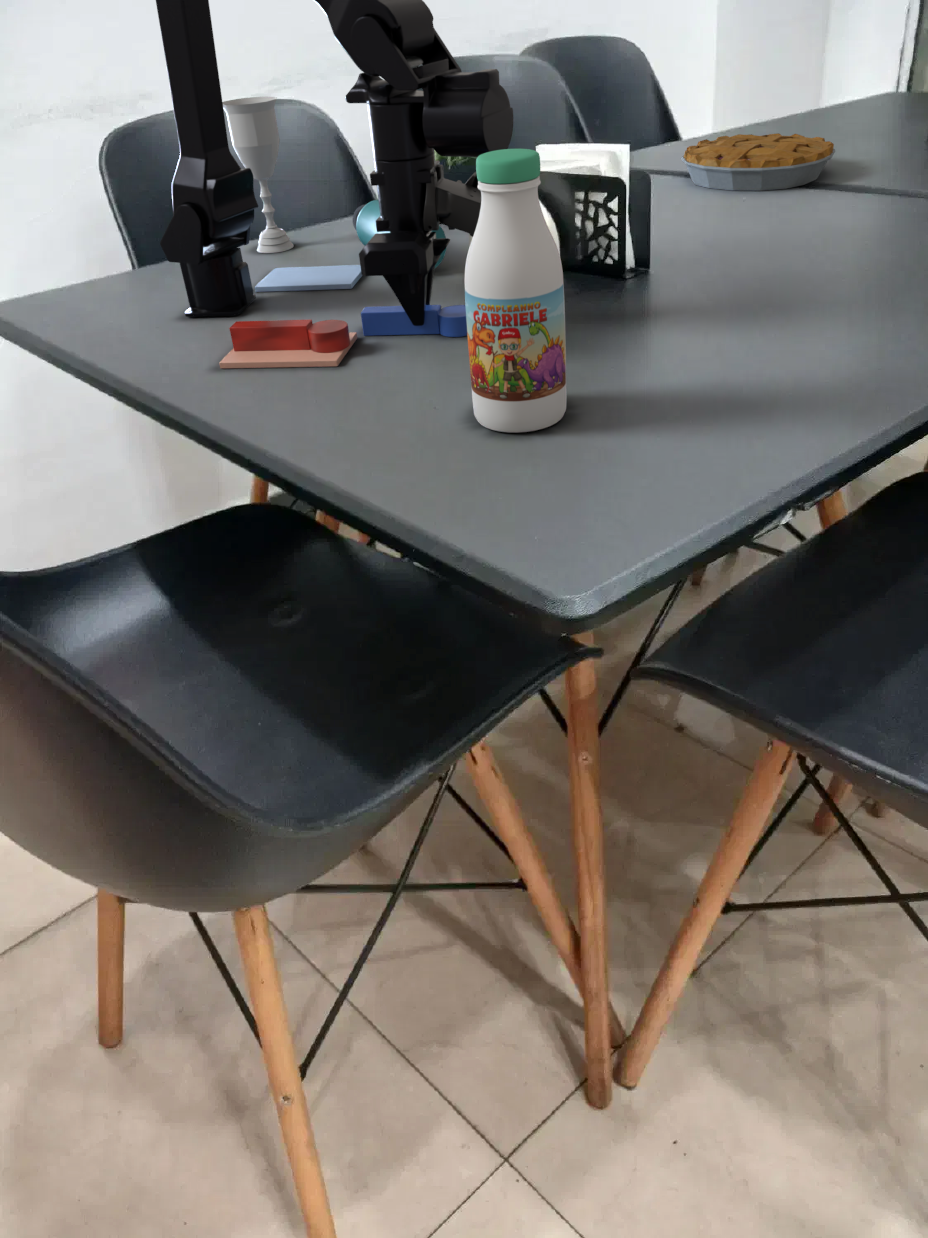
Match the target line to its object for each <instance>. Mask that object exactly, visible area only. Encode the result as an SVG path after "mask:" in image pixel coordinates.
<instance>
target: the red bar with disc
mask: <svg viewBox="0 0 928 1238" xmlns="http://www.w3.org/2000/svg"><path fill="white" fill-rule="evenodd" d="M228 329H229V333H230V337H231V342H232V347H233V348H234V351H275V350H310V349H311V350H312V351H314V352H318V353H331V352H337V351H341V350H343V349H346V348H347V347H349V346H350V337H349V332H350V330H349V325H348V323H347V322H346V321H345V320H341V319H326V320H319V321H316V322H313V319H312V318H311V319H309V318H308V319H280V320H279V319H277V320H276V319H275V320H274V319H273V320H272V319H271V320H243V321H241V320H239V321H237V320H236V321H235V322H234V323H233V324H232V325H231V326H230V327H229V328H228Z"/></svg>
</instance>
